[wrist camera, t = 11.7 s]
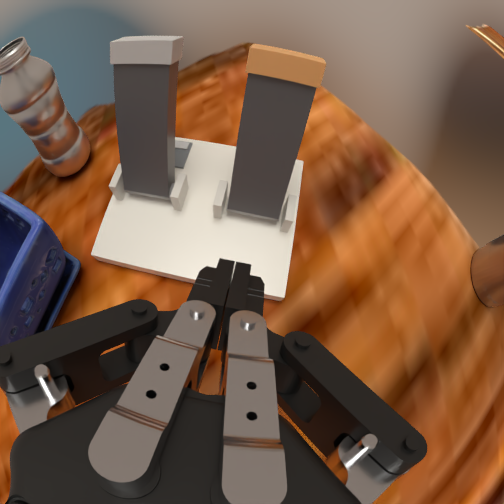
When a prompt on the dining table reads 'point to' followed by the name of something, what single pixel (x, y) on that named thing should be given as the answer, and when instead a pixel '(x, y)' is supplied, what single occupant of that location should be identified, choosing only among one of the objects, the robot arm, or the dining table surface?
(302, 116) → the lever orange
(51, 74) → the plastic bottle
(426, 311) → the dining table surface
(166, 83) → the lever grey
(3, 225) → the flower pot
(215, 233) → the switch unit
